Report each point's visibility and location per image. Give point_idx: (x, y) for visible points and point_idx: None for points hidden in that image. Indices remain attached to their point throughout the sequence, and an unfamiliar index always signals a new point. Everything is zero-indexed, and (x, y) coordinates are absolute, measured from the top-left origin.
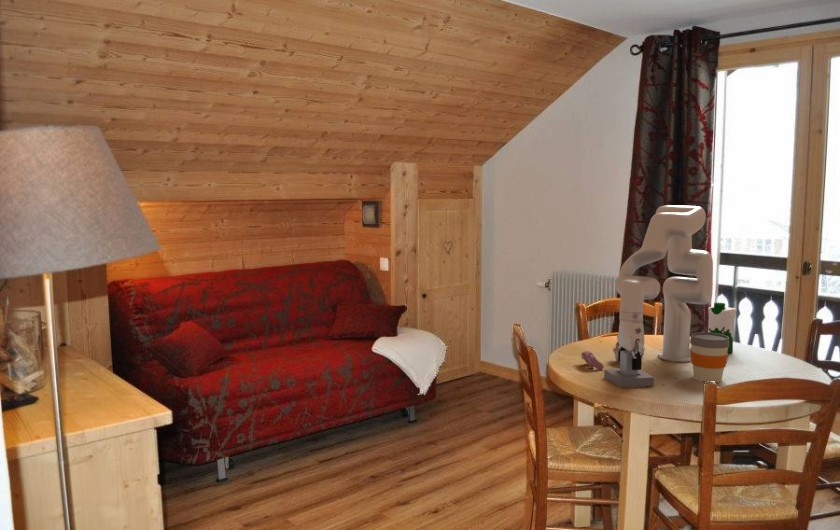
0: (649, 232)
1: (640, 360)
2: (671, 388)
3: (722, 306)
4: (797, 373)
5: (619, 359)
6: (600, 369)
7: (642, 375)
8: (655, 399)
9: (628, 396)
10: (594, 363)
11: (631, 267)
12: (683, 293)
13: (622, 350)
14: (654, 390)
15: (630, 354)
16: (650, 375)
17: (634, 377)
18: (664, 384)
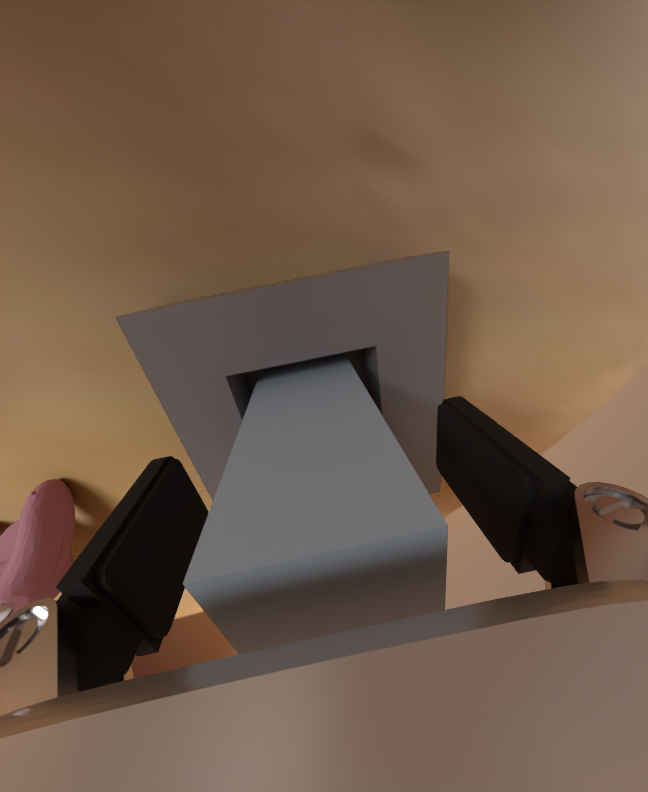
0: None
1: (531, 465)
2: (494, 107)
3: None
4: None
5: (199, 536)
6: (70, 491)
7: (379, 340)
8: (632, 341)
9: (538, 448)
10: (63, 553)
11: None
12: None
13: (125, 636)
14: (498, 287)
15: (442, 608)
16: (387, 265)
17: (422, 413)
18: (379, 126)
